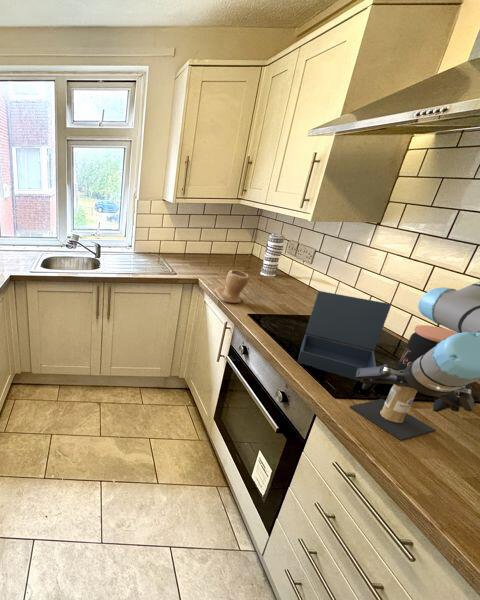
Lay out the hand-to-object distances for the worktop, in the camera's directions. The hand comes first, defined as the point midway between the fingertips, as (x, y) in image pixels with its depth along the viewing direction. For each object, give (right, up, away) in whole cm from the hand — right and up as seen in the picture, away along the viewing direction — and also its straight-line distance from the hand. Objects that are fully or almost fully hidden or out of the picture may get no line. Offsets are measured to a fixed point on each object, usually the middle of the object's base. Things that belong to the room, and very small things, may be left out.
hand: (398, 395), depth 82 cm
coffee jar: (+19, -1, +13) cm, 23 cm away
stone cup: (-7, +25, +77) cm, 82 cm away
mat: (-2, -6, +1) cm, 7 cm away
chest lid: (+8, +18, +26) cm, 33 cm away
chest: (+3, +3, +25) cm, 25 cm away
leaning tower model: (+35, +41, +116) cm, 128 cm away
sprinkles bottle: (-2, -6, 0) cm, 6 cm away
